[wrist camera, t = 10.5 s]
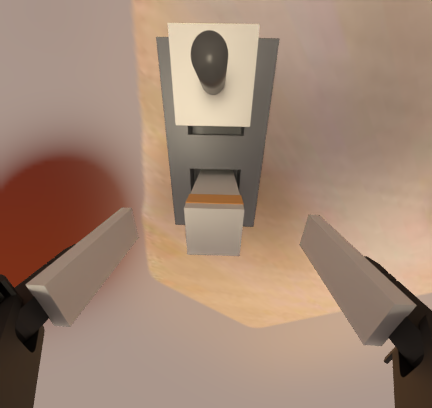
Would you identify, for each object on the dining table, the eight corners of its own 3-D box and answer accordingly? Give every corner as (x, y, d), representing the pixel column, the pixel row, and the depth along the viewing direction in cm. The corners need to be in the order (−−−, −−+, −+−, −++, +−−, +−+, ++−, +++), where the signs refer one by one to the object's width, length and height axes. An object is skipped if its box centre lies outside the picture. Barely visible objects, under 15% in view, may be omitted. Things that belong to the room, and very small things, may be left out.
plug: (231, 199, 22) (240, 256, 12) (201, 198, 22) (186, 254, 13) (233, 169, 21) (245, 208, 11) (200, 168, 21) (183, 207, 11)
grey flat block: (266, 57, 17) (279, 38, 13) (248, 212, 24) (253, 226, 21) (169, 56, 17) (156, 36, 13) (182, 210, 25) (175, 224, 21)
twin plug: (236, 84, 17) (285, -41, 4) (234, 126, 19) (263, 126, 6) (198, 83, 17) (134, -43, 4) (199, 126, 19) (155, 124, 6)
